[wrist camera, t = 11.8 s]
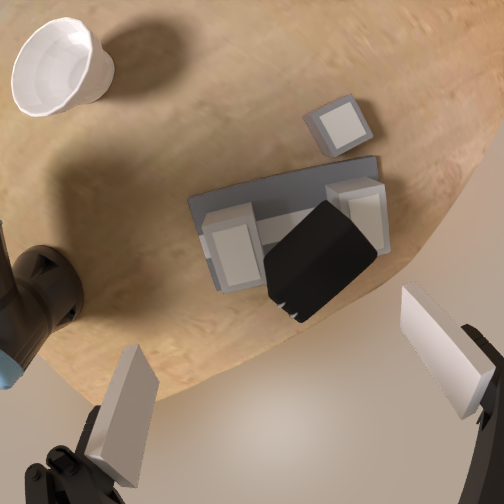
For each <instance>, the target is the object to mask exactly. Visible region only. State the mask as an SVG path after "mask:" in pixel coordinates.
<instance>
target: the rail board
mask: <svg viewBox="0 0 504 504" xmlns="http://www.w3.org/2000/svg"><path fill="white" fill-rule="evenodd" d="M187 200H188V204H189V207H190V210H191V213H192V216H193V220H194V223H195V226H196V229H197V232H198V235H199V239H200V242H201V245H202V248H203V251H204V254H205V257H206V260H207V263H208V266H209V269H210V272H211V275H212V278H213V281H214V284H215V287H216V290H217V291H219V290H222V292H223V294H226V293H230V292H235V291H239V290H244V289H248V288H252V287H257V286H261V285H265V284H267V282H266V276H265V270H264V263H263V259H264V257H265V255H266V254H267V253H268V252H269V251H270V250H271V249H272V248H273V247H274V246H275V245H276V244H278V243H279V242H280V241H281V240H282V239H283V238H284V237H285V236H286V235H287V234H288V233H289V232H290V231H291V230H292V229H293V228H294V227H295V226H297V225H298V224H299V223H300V222H301V221H302V220H303V219H304V218H305V217H306V216H307V215H308V214H309V213H310V212H311V211H312V210H313V209H314V208H315V207H316V206H318V205H319V204H320V203H321V202H322V201H324V200H328V201H329V202H330V203H331V204H332V205H334V206H335V207H336V208H337V209H339V210H340V211H341V212H342V213H343V214H344V215H346V216H347V217H348V218H349V219H350V220H352V222H353V223H354V224H355V225H356V226H357V227H358V229H359V230H360V231H361V232H362V233H363V235H364V236H365V237H366V238H367V239H368V241H369V242H370V243H371V244H372V245H373V247H374V248H375V249H376V250H377V253H378V255H377V256H380V255H383V254H387V253H391V251H390V235H389V222H388V211H387V202H386V193H385V185H384V184H383V183H381V182H379V175H378V168H377V162H376V156H372V155H370V156H365V157H359V158H353V159H348V160H343V161H338V162H332V163H327V164H322V165H318V166H313V167H308V168H303V169H299V170H294V171H290V172H285V173H281V174H276V175H272V176H268V177H264V178H259V179H255V180H251V181H247V182H243V183H239V184H235V185H231V186H228V187H224V188H220V189H216V190H212V191H209V192H205V193H201V194H198V195H194V196H191V197H189V198H188V199H187Z"/></svg>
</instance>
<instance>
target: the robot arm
mask: <svg viewBox="0 0 504 504" xmlns="http://www.w3.org/2000/svg"><path fill="white" fill-rule="evenodd" d="M2 224H3V223H2V221H1V220H0V390H7V389H10V388H11V387H12V386H13V385H14V384H15V383H16V381H17V380H18V379H19V378H20V377H21V376H23V373H24V372H25V370H26V369H27V367H28V365H29V364H30V363H31V361H32V359H33V358H34V357H35V355H36V354H37V352H38V351H39V349H40V348H41V347H42V345H43V344H44V342H45V341H46V339H47V338H48V337H49V335H50V334H52V333H54V332H55V331H57V330H59V329H61V328H63V327H65V326H67V325H69V324H70V323H71V322H72V321H73V320H74V319H75V318H76V317H77V315H78V314H79V312H80V311H81V309H82V305H83V290H82V286H81V282H80V280H79V277H78V275H77V273H76V272H75V270H74V268H73V267H72V266H71V264H70V263H69V262H68V261H67V260H66V259H65V258H64V257H63V256H62V255H61V254H60V253H58V252H57V251H55V250H53V249H51V248H49V247H46V246H33V247H31V248H29V249H27V250H26V251H25V252H23V253H22V254H21V255H20V256H19V257H18V258H17V260H16V261H15V263H14V265H13V267H12V268H11V264H10V260H9V256H8V252H7V248H6V243H5V239H4V234H3V229H2ZM400 330H401V331H402V333H403V334H404V336H405V337H406V338H407V340H408V341H409V343H410V344H411V345H412V347H413V348H414V350H415V351H416V352H417V354H418V355H419V357H420V358H421V359H422V361H423V362H424V364H425V365H426V367H427V368H428V370H429V371H430V372H431V374H432V376H433V377H434V379H435V380H436V382H437V383H438V384H439V386H440V387H441V389H442V391H443V392H444V394H445V395H446V397H447V398H448V400H449V401H450V403H451V405H452V406H453V408H454V409H455V411H456V412H457V414H458V416H459V417H460V419H461V420H463V419H465V418H467V417H468V416H470V415H472V414H474V413H475V412H476V410H477V408H478V406H479V404H480V405H481V406H482V407H483V411H482V413H481V415H480V417H479V418H478V421H477V423H476V424H479V422H480V426H479V431H478V436H477V441H476V445H475V449H474V453H473V457H472V461H471V465H470V468H469V472H468V475H467V479H466V482H465V485H464V488H463V491H462V494H461V497H460V500H459V503H458V504H504V358H503V356H502V355H501V354H500V353H499V352H498V351H497V350H496V349H495V348H494V347H493V345H492V344H491V343H489V341H488V340H487V339H486V338H485V337H483V335H482V334H481V333H480V332H479V331H478V330H477V329H476V328H474V327H472V326H470V325H468V324H466V325H463V326H461V327H460V326H459V325H458V324H457V323H456V322H455V321H454V320H453V319H452V318H451V317H450V316H449V315H448V314H447V313H446V312H445V310H443V308H442V307H440V305H439V304H438V303H436V301H435V300H434V299H433V298H432V297H431V296H429V294H428V293H427V292H426V291H425V290H424V289H423V288H422V287H420V286H419V285H418V284H417V283H416V282H415V281H414V282H411V283H408V284H404V285H402V302H401V320H400ZM158 386H159V380H158V379H157V377H156V375H155V373H154V372H153V370H152V368H151V366H150V365H149V363H148V361H147V359H146V357H145V356H144V354H143V352H142V350H141V348H140V346H139V344H135V345H128V346H125V348H124V350H123V353H122V355H121V357H120V360H119V362H118V365H117V367H116V369H115V372H114V374H113V377H112V379H111V382H110V384H109V387H108V389H107V392H106V395H105V397H104V400H103V402H102V405H96V406H95V407H94V408H93V410H92V411H91V412H90V413H89V415H88V418H87V421H86V424H85V426H84V429H83V431H82V434H81V436H80V440H79V442H78V445H77V448H76V450H75V453H73V452H72V451H71V450H70V449H69V448H68V447H66V446H63V445H59V446H56V447H54V448H53V449H52V450H50V452H49V453H48V455H47V458H46V464H47V465H48V466H49V467H50V468H51V469H47V468H45V467H44V466H43V465H42V464H39V463H35V464H32V465H30V467H28V468H27V470H26V472H25V496H26V504H125V503H124V501H123V499H122V498H121V496H120V495H119V493H118V491H117V490H116V489H115V488H114V487H113V486H114V481H115V482H117V483H118V484H119V485H120V486H122V487H130V488H137V487H138V481H139V476H140V470H141V465H142V460H143V455H144V450H145V445H146V440H147V435H148V430H149V426H150V421H151V416H152V412H153V408H154V403H155V399H156V395H157V391H158Z"/></svg>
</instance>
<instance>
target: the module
mask: <svg viewBox="0 0 504 504" xmlns="http://www.w3.org/2000/svg"><path fill="white" fill-rule="evenodd" d="M302 117H303V119H304V120H305V122H306V124H307V126H308V127H309V129H310V131H311V133H312V135H313V136H314V138H315V140H316V142H317V144H318V146H319V147H320V149H321V151H322V153H323V155H326V156H329V157H333V158H335V157H337V156H338V155H340V154H342V153H344V152H346V151H348V150H350V149H352V148H354V147H355V146H357V145H359V144H361V143H363V142H365V141H367V140H369V139H371V138H373V137H374V136H373V134H372V132H371V130H370V128H369V126H368V124H367V122H366V120H365V118H364V116H363V114H362V112H361V110H360V108H359V106H358V104H357V103H356V101H355V99H354V97H353V95H352V94H349V95H346V96H343V97H340V98H338V99H336V100H333V101H331V102H329V103H327V104H325V105H323V106H321V107H319V108H317V109H315V110H313V111H311V112H309V113H307V114H305V115H303V116H302Z"/></svg>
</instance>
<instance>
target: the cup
mask: <svg viewBox="0 0 504 504" xmlns="http://www.w3.org/2000/svg"><path fill="white" fill-rule="evenodd" d="M114 71H115V68H114V63H113V60H112V58H111V57H110V55H109V54H108V53H107V52H105V51H104V50H103V49H102V45H101V42H100V41H99V40H98V38H97V37H96V36H95V34H94V33H93V32H92V31H91V30H90V29H89V28H88V27H87V26H86V25H85V24H84V23H83V22H82V21H81V20H78V19H74V18H70V17H64V18H59V19H55V20H51V21H50V22H48V23H47V24H45V25H44V26H42V27H41V28H39V29H38V30H36V31H35V32H34V33H33V35H32V36H31V37H30V38H29V39H28V40H27V41H26V43H25V44H24V45H23V47H22V49H21V51H20V53H19V55H18V57H17V59H16V61H15V63H14V68H13V73H12V79H11V85H12V93H13V98H14V100H15V102H16V104H17V105H18V107H19V109H20V110H21V111H22V112H24V113H26V114H28V115H30V116H32V117H37V116H49V115H53V114H57V113H62V112H65V111H67V110H69V109H71V108H73V107H75V106H77V105H81V104H89V103H91V102H94V101H95V100H97V99H99V98H100V97H101V96H102V95H103V94H104V93H105V92H106V91H107V90H108V88H109V87H110V85H111V83H112V81H113V77H114Z"/></svg>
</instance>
